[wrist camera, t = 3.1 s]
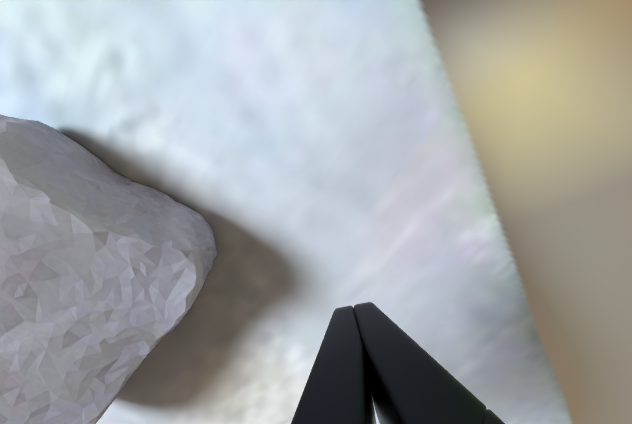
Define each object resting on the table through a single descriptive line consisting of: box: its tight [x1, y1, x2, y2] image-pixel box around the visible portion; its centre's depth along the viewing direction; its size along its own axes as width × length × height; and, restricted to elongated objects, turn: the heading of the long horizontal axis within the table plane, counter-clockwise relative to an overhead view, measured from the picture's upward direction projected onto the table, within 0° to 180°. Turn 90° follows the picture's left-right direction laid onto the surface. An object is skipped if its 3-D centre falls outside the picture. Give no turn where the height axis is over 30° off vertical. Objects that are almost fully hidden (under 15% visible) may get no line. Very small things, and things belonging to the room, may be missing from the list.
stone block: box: [0, 115, 217, 424], centre depth 12 cm, size 12×5×10 cm
